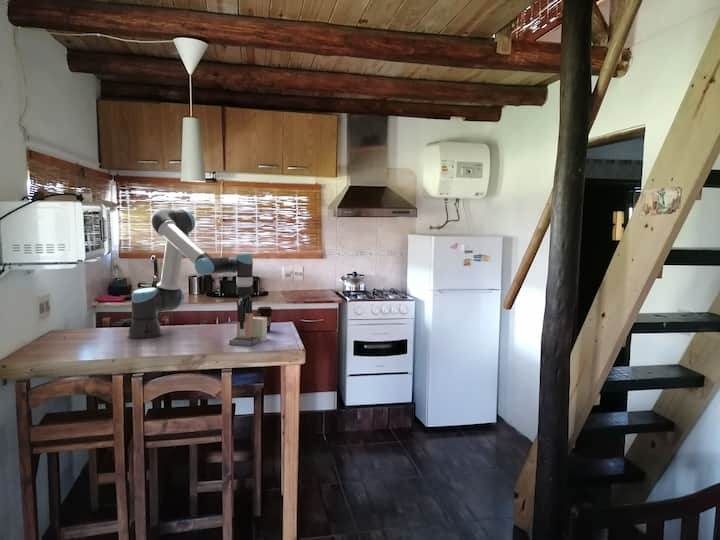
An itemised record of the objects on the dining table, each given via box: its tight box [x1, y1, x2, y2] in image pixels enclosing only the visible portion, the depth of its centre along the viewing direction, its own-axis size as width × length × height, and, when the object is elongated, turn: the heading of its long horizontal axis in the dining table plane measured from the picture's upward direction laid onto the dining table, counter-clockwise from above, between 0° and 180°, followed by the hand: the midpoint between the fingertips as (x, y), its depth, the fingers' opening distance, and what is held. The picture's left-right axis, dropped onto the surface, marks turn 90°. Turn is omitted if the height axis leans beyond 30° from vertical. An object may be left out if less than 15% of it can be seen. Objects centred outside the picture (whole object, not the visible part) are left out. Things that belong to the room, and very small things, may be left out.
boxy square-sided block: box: [252, 315, 268, 343], centre depth 238 cm, size 12×6×11 cm, turn 81°
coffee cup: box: [256, 306, 274, 333], centre depth 256 cm, size 9×8×13 cm
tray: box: [229, 336, 260, 347], centre depth 230 cm, size 11×9×2 cm
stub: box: [236, 312, 254, 338], centre depth 229 cm, size 6×5×11 cm
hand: (245, 334), depth 229 cm, fingers closed on stub, 5 cm apart
